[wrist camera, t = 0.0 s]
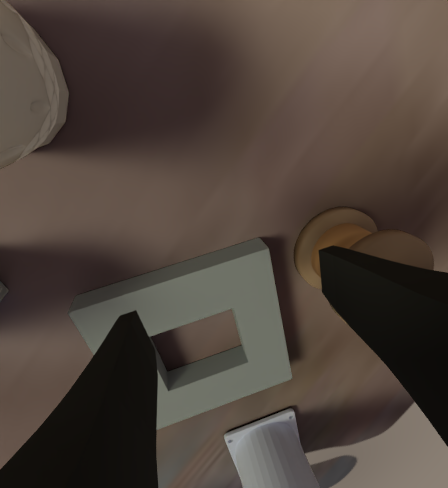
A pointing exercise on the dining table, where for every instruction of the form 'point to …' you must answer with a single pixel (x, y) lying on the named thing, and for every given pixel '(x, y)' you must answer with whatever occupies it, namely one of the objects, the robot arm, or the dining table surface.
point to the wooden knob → (355, 242)
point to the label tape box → (2, 291)
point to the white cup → (27, 89)
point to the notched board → (195, 308)
